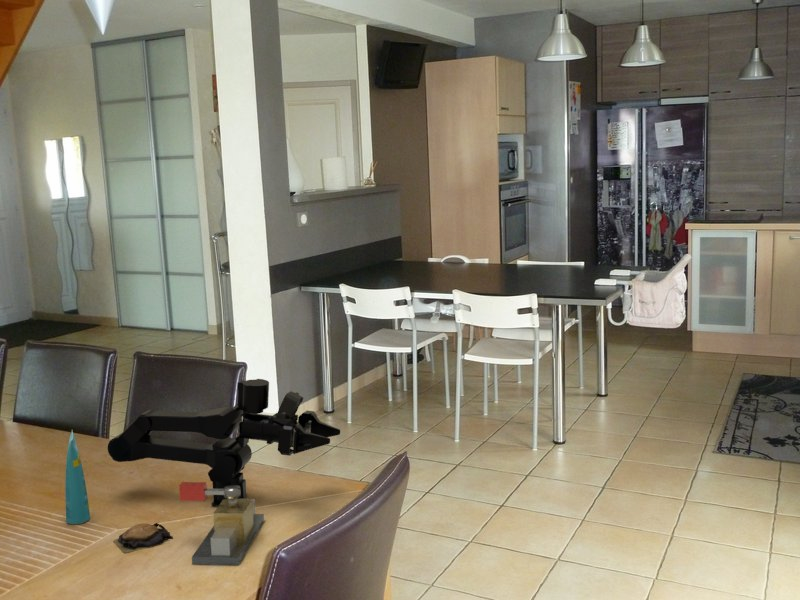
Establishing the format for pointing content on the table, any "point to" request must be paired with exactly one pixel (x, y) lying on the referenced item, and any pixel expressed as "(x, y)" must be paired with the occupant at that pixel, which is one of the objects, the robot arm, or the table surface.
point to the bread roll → (142, 537)
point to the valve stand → (229, 533)
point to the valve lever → (205, 491)
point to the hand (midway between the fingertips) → (335, 436)
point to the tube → (75, 486)
